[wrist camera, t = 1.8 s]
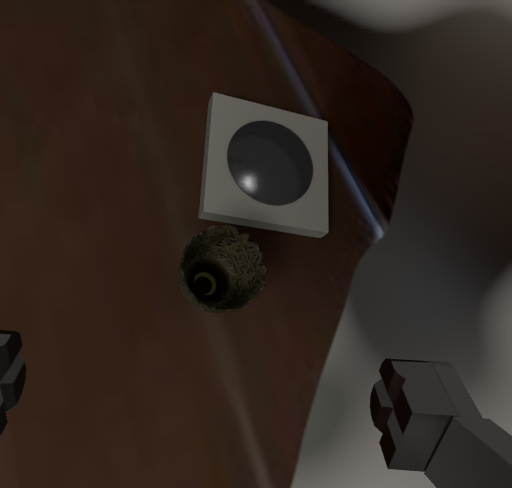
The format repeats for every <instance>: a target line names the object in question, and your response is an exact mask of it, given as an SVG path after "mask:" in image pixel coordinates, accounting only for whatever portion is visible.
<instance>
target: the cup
mask: <svg viewBox="0 0 512 488" xmlns="http://www.w3.org/2000/svg"><path fill="white" fill-rule="evenodd" d="M248 237H249V235H248V234H247V233H243V234H240V233H239V232H238V231H237V229H236V228H235V227H234V226H231V225H228V226H222V227H218V226H217V225H213V226H210V227H209V229H208V230H207V231H205V232H201V233H200V234H199V235H194V236H193V237H192V238H191V239H190V241H189V243H188V244H187V245H186V247H185V249H184V251H183V255H182V258H181V261H180V264H179V269H178V283H179V287H180V290H181V292H182V294H183V296H184V297H185V299H186V300H187V301H188V302H189V303H190V304H191V305H193V306H194V307H196V308H197V309H199V310H202V311H206V312H212V313H219V312H229V311H236V310H240V309H242V307H243V306H245V305H246V304H248V303H249V302H250V301H251V300H253V299H255V298H256V297H257V296H258V293H259V292H260V291H261V290H262V289H263V288H264V286H265V280H264V279H263V274H264V273H265V272H266V270H267V269H266V267H265V266H261V264H262V262H263V261H262V259H263V253H262V252H260V251H259V247H258V244H257V243H255V242H248ZM201 277H205V278H207V279H208V280H209V281H210V282H211V289H210V290H209V292H207V293H200V292H199V291H198V290H197V289H196V287H195V282H196V280H197V279H199V278H201Z"/></svg>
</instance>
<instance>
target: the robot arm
mask: <svg viewBox="0 0 512 488" xmlns="http://www.w3.org/2000/svg"><path fill="white" fill-rule="evenodd" d="M22 346H23V345H22V340H21V335H20V333H18V332H16V331H6V330H0V436H1V434H2V432H3V430H4V429H5V427H6V425H7V423H8V421H7V416H6V412H7V411H8V410H9V409H11V408H12V407H14V406H15V405H17V403H18V401H19V399H20V397H21V394H22V392H23V388H24V384H25V380H26V365H25V360H24V359H23V358H22V357H20V356H19V355H18V353H19V351H20V349H21V347H22ZM379 372H380V374H381V377H382V379H381V380H379V381H378V382H376V383H375V384H374V386H373V389H372V392H371V398H370V410H371V417H372V420H373V423H374V426H375V427H376V428H377V429H378V430H380V431H381V432H382V433H383V435H382V437H381V439H380V442H379V443H380V446H381V449H382V452H383V455H384V459H385V462H386V464H387V468H388V469H397V470H409V471H423V472H425V473H424V474H425V475H426V476H427V477H428V478H429V480H431V482H432V483H433V484H434V485H435V486H436V488H512V436H511V435H510V434H508V433H507V432H506V431H504V430H503V429H502V428H500V427H499V426H498V425H497V424H495V423H494V422H493V421H491V420H490V419H483V418H482V416H481V414H480V412H479V411H478V409H477V407H476V405H475V404H474V402H473V400H472V398H471V397H470V395H469V393H468V392H467V390H466V388H465V386H464V384H463V383H462V381H461V379H460V377H459V376H458V374H457V372H456V370H455V369H454V367H453V365H451V364H450V363H449V362H439V361H418V360H403V359H402V360H401V359H387V358H386V359H385V360H384V361H383V362H382V364H381V367H380V370H379Z"/></svg>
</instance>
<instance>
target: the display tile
mask: <svg viewBox="0 0 512 488" xmlns="http://www.w3.org/2000/svg"><path fill="white" fill-rule="evenodd" d="M199 218H200V219H207V220H213V221H219V222H225V223H231V224H237V225H243V226H249V227H255V228H261V229H267V230H273V231H280V232H286V233H292V234H298V235H304V236H310V237H316V238H321V237H323V236H324V235H326V234H327V233H328V121H324V120H320V119H316V118H312V117H308V116H304V115H301V114H297V113H293V112H289V111H285V110H281V109H277V108H273V107H269V106H265V105H261V104H257V103H253V102H249V101H246V100H242V99H238V98H234V97H230V96H226V95H222V94H218V93H214V92H213V94H212V96H211V98H210V100H209V104H208V115H207V127H206V139H205V150H204V162H203V174H202V185H201V197H200V209H199Z"/></svg>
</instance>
